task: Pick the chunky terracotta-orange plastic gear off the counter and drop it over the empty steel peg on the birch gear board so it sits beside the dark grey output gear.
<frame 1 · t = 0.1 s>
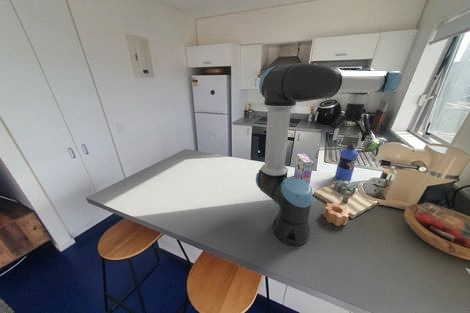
hand: (346, 143, 96), 28 cm above the countertop, fingers open, 13 cm apart
water bottle: (342, 178, 116), on the countertop
output gear: (344, 190, 100), resting on gear board
candy box: (301, 181, 114), on the countertop
gear board: (345, 198, 96), on the countertop
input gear: (334, 218, 82), on the countertop
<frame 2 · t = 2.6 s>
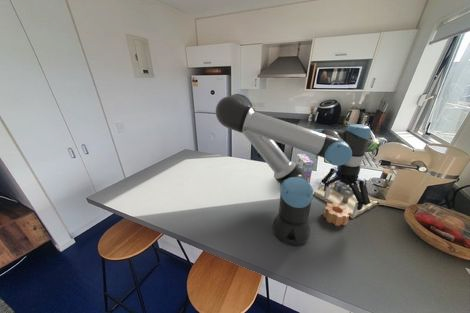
hand: (339, 205, 79), 7 cm above the countertop, fingers open, 13 cm apart
nothing on the countertop moved.
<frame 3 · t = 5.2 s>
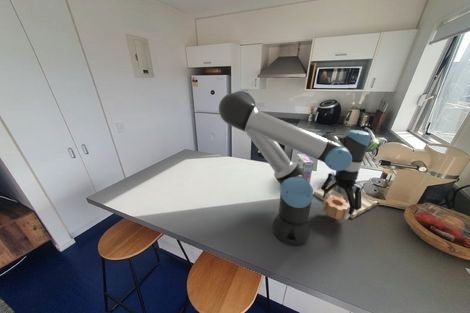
hand: (335, 210, 81), 4 cm above the countertop, fingers closed on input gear, 10 cm apart
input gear: (334, 211, 81), point 4 cm above the countertop, touching gripper
everything else where it was.
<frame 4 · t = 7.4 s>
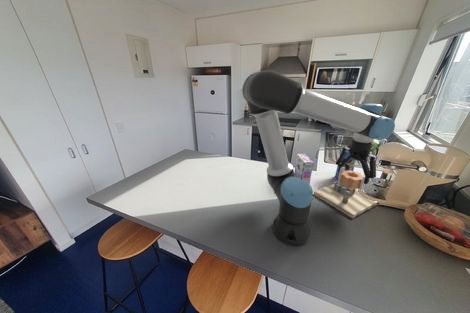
hand: (350, 183, 86), 13 cm above the countertop, fingers closed on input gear, 10 cm apart
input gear: (350, 183, 86), point 13 cm above the countertop, touching gripper
everything else where it was.
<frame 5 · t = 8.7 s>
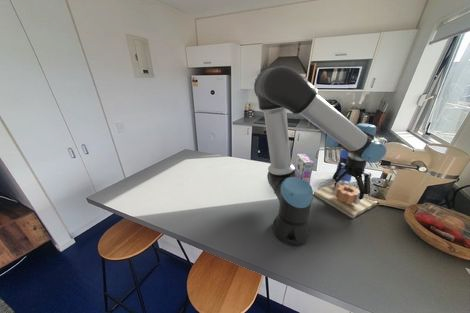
hand: (346, 197, 89), 4 cm above the countertop, fingers closed on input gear, 10 cm apart
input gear: (346, 198, 89), point 4 cm above the countertop, touching gripper
everything else where it was.
when the fingers open (4 cm above the countertop, at t = 9.9 s): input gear drops 1 cm, resting on gear board.
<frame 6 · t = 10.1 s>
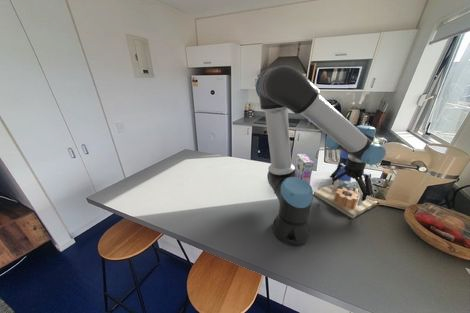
hand: (345, 197, 89), 5 cm above the countertop, fingers open, 12 cm apart
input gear: (344, 201, 90), point 2 cm above the countertop, touching gear board
everything else where it was.
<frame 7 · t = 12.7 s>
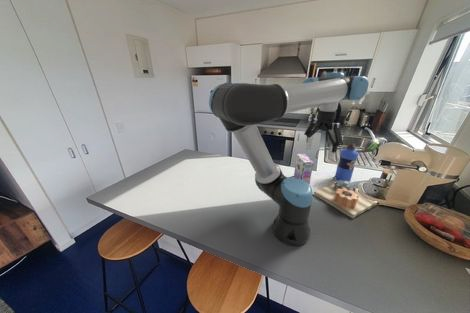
hand: (318, 153, 88), 26 cm above the countertop, fingers open, 13 cm apart
nothing on the countertop moved.
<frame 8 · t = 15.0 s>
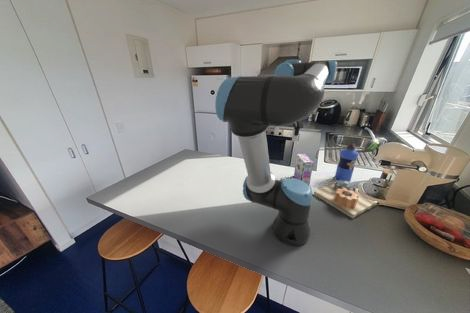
hand: (284, 137, 94), 32 cm above the countertop, fingers open, 13 cm apart
nothing on the countertop moved.
at the end: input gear 0.0 cm from the target spot, point 2.0 cm above the countertop; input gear tilted 0°; the gripper is holding nothing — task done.
